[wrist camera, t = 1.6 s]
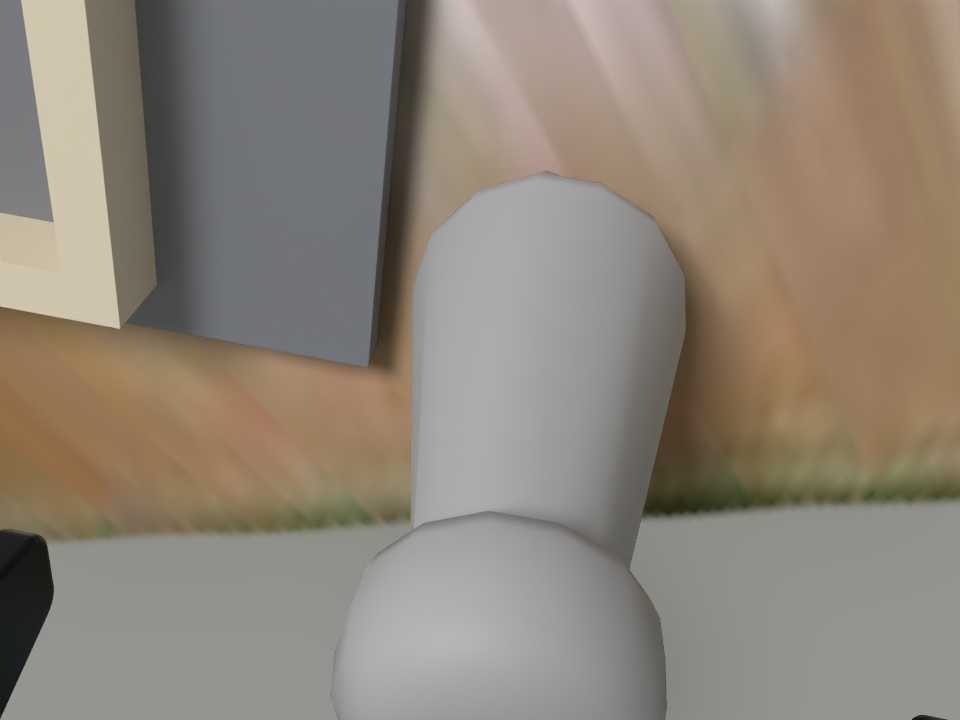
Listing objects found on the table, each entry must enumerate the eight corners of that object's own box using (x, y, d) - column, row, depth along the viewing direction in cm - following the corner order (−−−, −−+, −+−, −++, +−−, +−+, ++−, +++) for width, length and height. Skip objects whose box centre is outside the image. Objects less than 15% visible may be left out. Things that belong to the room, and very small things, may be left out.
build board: (429, -256, 16) (395, -254, 14) (376, 345, 24) (348, 417, 21) (-443, -406, 16) (-629, -430, 14) (-223, 233, 24) (-318, 291, 22)
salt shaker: (734, 230, 21) (856, 762, 10) (585, 394, 24) (557, 935, 13) (516, 85, 19) (391, 516, 9) (389, 278, 22) (182, 770, 12)
